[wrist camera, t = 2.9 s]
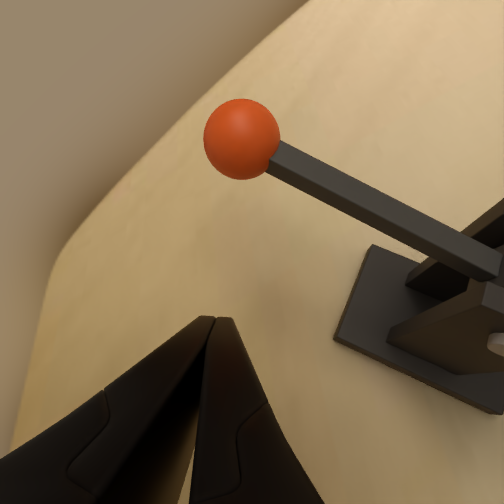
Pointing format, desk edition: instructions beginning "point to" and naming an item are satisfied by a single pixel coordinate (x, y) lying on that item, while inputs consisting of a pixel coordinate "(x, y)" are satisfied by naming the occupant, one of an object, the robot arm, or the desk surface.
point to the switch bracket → (432, 320)
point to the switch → (338, 189)
